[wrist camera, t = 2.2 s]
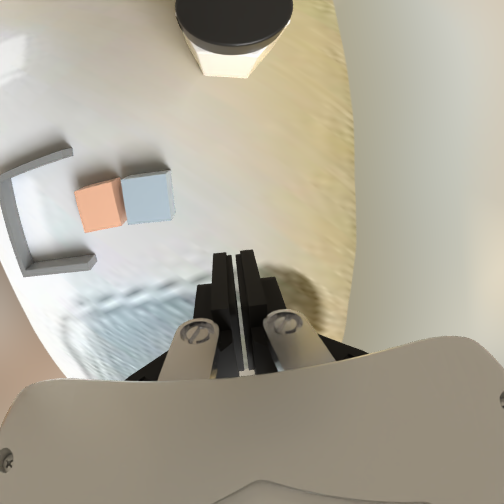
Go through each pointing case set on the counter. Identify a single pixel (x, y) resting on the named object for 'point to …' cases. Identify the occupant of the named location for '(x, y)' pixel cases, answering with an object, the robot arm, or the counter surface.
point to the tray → (4, 196)
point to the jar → (232, 32)
